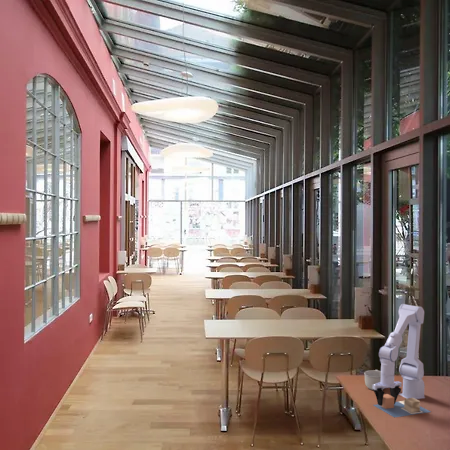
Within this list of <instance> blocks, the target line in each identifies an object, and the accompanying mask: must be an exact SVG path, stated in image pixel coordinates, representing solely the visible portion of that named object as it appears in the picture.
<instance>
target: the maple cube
mask: <svg viewBox="0 0 450 450" xmlns="http://www.w3.org/2000/svg"><path fill="white" fill-rule="evenodd" d="M403 401H404V409H405V410H407V411H409V412H411V413H413V412H420V406H421V401H420V399H414V398H404V400H403Z"/></svg>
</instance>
